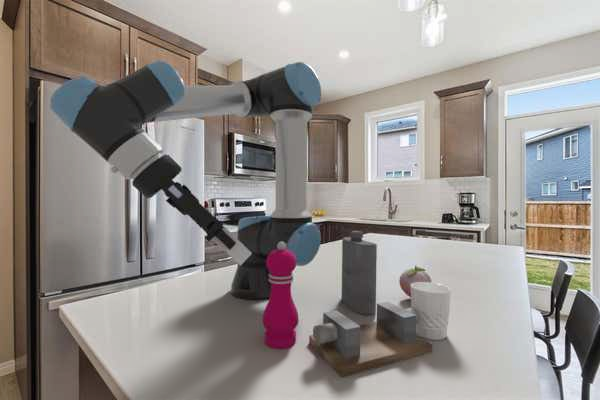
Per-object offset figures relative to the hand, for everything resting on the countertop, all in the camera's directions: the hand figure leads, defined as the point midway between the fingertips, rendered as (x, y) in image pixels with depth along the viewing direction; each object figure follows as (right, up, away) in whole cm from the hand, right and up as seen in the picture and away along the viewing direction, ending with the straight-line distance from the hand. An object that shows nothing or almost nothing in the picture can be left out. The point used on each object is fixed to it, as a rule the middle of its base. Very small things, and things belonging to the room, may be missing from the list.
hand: (237, 252), depth 54 cm
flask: (+27, -19, +25) cm, 41 cm away
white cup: (+40, -19, +8) cm, 45 cm away
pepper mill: (+8, -19, +4) cm, 21 cm away
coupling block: (+25, -19, +2) cm, 31 cm away
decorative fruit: (+45, -19, +29) cm, 57 cm away
